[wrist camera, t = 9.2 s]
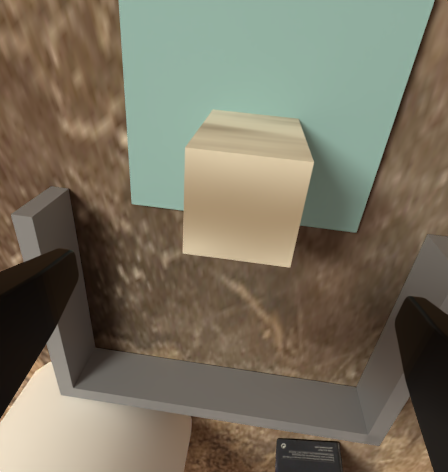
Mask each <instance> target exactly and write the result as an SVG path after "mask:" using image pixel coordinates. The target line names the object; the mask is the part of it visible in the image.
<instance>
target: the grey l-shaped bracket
mask: <svg viewBox="0 0 448 472" xmlns="http://www.w3.org/2000/svg"><path fill="white" fill-rule="evenodd" d="M11 217H12V220H13V224H14V228H15V231H16V235H17V238H18V242H19V246H20V249H21V253H22V257H23V260H24V262H25V261H28V260H30V259H33V258H35V257H37V256H40V255H42V254H45V253H47V252H50V251H52V250H54V249H57V248H64V249H71V250H73V251H74V252H75V254H76V259H77V265H78V271H79V279H78V282H77V284H76V287H75V289H74V291H73V293H72V295H71V297H70V299H69V301H68V304H67V306H66V308H65V310H64V312H63V314H62V316H61V318H60V320H59V322H58V324H57V326H56V328H55V330H54V332H53V333H52V335H51V337H50V338H49V340H48V342H47V347H48V351H49V354H50V358H51V362H52V365H53V369H54V372H55V376H56V380H57V383H58V387H59V391H60V394H61V395H63V396H70V397H76V398H82V399H89V400H95V401H101V402H107V403H114V404H120V405H126V406H132V407H139V408H145V409H151V410H157V411H164V412H170V413H176V414H182V415H189V416H195V417H201V418H207V419H214V420H220V421H226V422H232V423H239V424H245V425H251V426H257V427H264V428H270V429H276V430H282V431H289V432H295V433H301V434H308V435H314V436H320V437H326V438H333V439H339V440H345V441H351V442H358V443H364V444H370V445H376V446H380V444H381V442H382V441H383V439H384V437H385V436H386V434H387V433H388V431H389V429H390V428H391V426H392V424H393V423H394V421H395V420H396V418H397V416H398V415H399V413H400V411H401V410H402V408H403V407H404V405H405V403H406V402H407V400H408V398H409V397H410V394H409V391H408V388H407V384H406V381H405V376H404V372H403V367H402V362H401V357H400V352H399V346H398V341H397V336H396V331H395V318H396V316H397V314H398V312H399V309H400V307H401V305H402V303H403V301H404V299H405V298H406V297H407V296H417V297H423V298H426V299H427V300H429V301H430V302H431V303H433V304H434V305H435V306H437V307H438V308H439V309H441V310H442V311H443V312H445V313H446V314H448V237H445V236H437V235H430V234H427V237H426V239H425V241H424V243H423V245H422V247H421V249H420V252H419V254H418V256H417V258H416V260H415V262H414V264H413V267H412V269H411V271H410V273H409V275H408V277H407V279H406V282H405V284H404V286H403V288H402V290H401V292H400V294H399V297H398V299H397V301H396V303H395V305H394V307H393V309H392V312H391V314H390V316H389V318H388V320H387V322H386V324H385V327H384V329H383V331H382V333H381V335H380V337H379V339H378V342H377V344H376V346H375V348H374V350H373V352H372V354H371V357H370V359H369V361H368V363H367V365H366V367H365V369H364V372H363V374H362V376H361V378H360V380H359V382H358V384H357V387H352V386H346V385H339V384H332V383H326V382H319V381H313V380H306V379H299V378H293V377H286V376H280V375H273V374H266V373H260V372H253V371H246V370H240V369H233V368H227V367H220V366H213V365H207V364H200V363H194V362H187V361H180V360H174V359H167V358H161V357H154V356H147V355H141V354H134V353H128V352H121V351H114V350H108V349H101V348H95V343H94V337H93V331H92V325H91V319H90V313H89V307H88V301H87V295H86V289H85V283H84V277H83V271H82V265H81V259H80V253H79V247H78V241H77V235H76V229H75V224H74V218H73V212H72V206H71V200H70V194H69V189H67V188H59V187H49V188H48V189H47V190H45V191H44V192H42V193H41V194H39V195H38V196H37V197H35V198H34V199H32V200H31V201H29V202H28V203H27V204H25V205H24V206H22V207H21V208H19V209H18V210H17V211H15V212H14V213H12V214H11Z"/></svg>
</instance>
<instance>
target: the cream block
mask: <svg viewBox="0 0 448 472" xmlns="http://www.w3.org/2000/svg"><path fill="white" fill-rule="evenodd" d="M313 165H314V161H313V158H312V155H311V152H310V149H309V147H308V144H307V141H306V138H305V136H304V133H303V130H302V127H301V124H300V122H299V119H297V118H287V117H278V116H269V115H260V114H251V113H241V112H232V111H223V110H214V109H213V110H212V111H211V113H210V114H209V115H208V117H207V118H206V120H205V121H204V122H203V124H202V125H201V126H200V128H199V129H198V130H197V132H196V133H195V135H194V136H193V137H192V139H191V140H190V141H189V143H188V144H187V146H186V147H185V173H184V220H183V253H184V254H192V255H200V256H207V257H215V258H222V259H230V260H237V261H245V262H253V263H260V264H268V265H275V266H283V267H290V266H291V261H292V257H293V253H294V248H295V244H296V239H297V235H298V231H299V226H300V222H301V218H302V213H303V209H304V204H305V200H306V196H307V191H308V187H309V182H310V178H311V174H312V169H313Z"/></svg>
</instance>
